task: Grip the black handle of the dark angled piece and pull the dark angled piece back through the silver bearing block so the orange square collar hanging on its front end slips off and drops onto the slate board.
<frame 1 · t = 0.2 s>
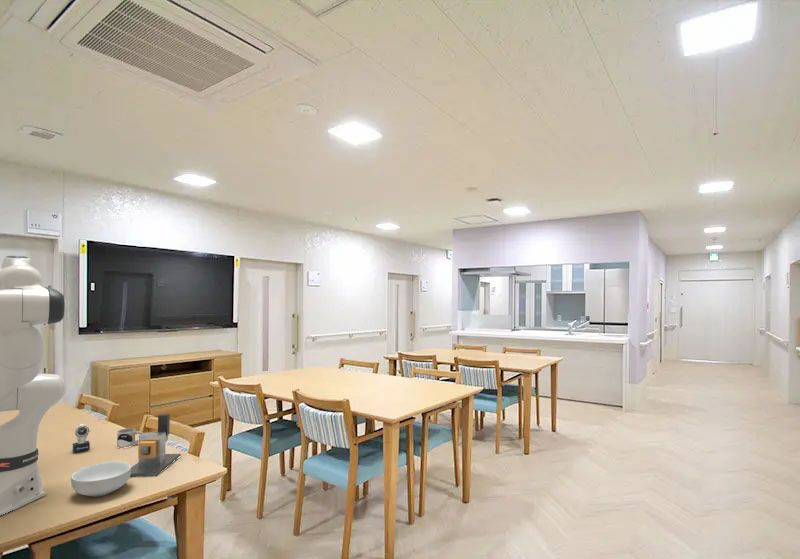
hand: (14, 329, 177), 52 cm above the table, tool tilted 20°, fingers open, 8 cm apart
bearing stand: (151, 467, 173), on the table
dark angled piece: (155, 433, 175), point 12 cm above the table, slide at 0.0 cm, touching spacer collar
spacer collar: (147, 457, 169), point 5 cm above the table, touching dark angled piece
mug: (130, 446, 198), on the table
cereal bowl: (101, 492, 151), on the table
watch: (81, 451, 191), on the table
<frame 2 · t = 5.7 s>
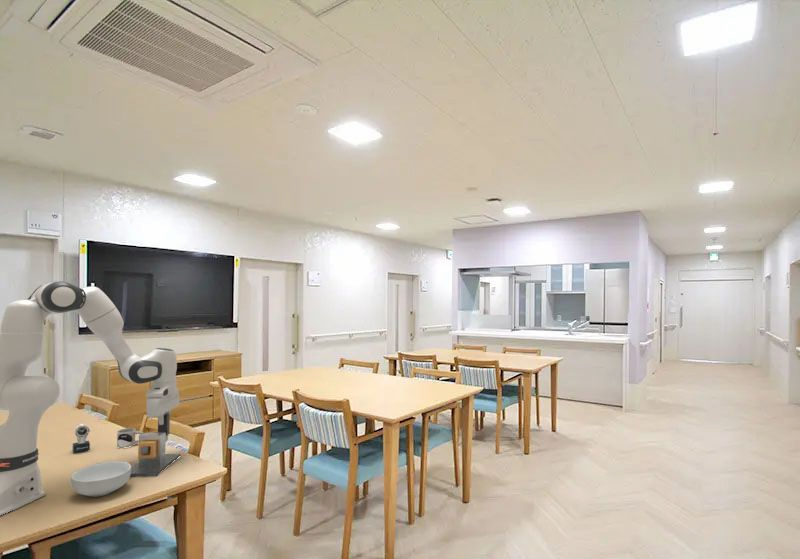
hand: (163, 423, 182), 14 cm above the table, tool pointing down, fingers closed on dark angled piece, 2 cm apart
dark angled piece: (155, 433, 175), point 12 cm above the table, slide at 0.0 cm, touching gripper, spacer collar
everything else where it was.
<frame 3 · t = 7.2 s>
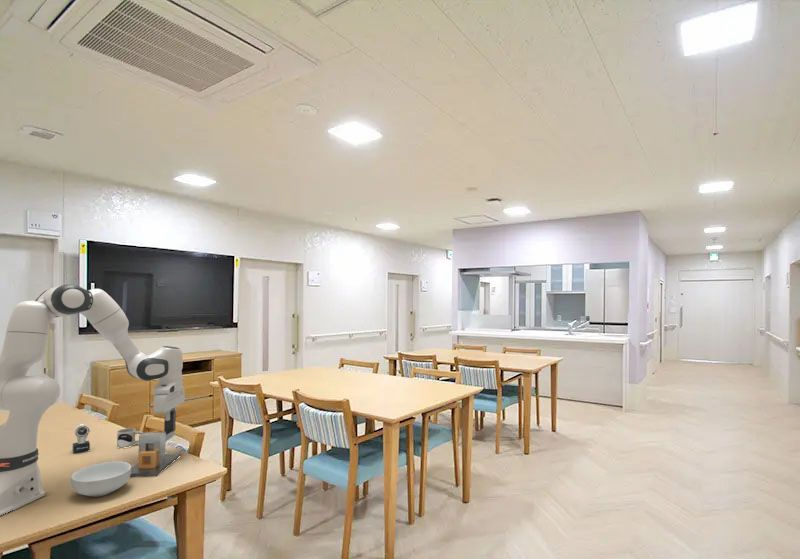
hand: (170, 419, 187), 14 cm above the table, tool pointing down, fingers closed on dark angled piece, 2 cm apart
dark angled piece: (161, 429, 180), point 12 cm above the table, slide at 5.4 cm, touching gripper
spacer collar: (147, 467, 170), point 1 cm above the table, touching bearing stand
everything else where it was.
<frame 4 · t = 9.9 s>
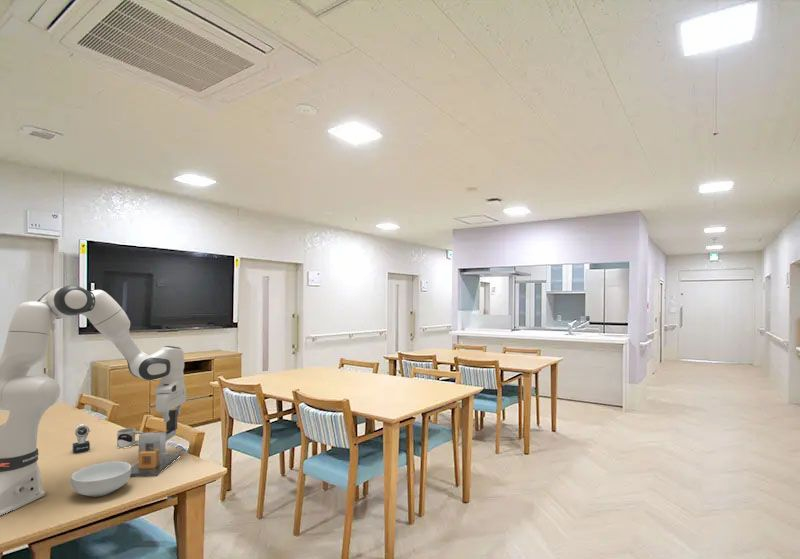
hand: (171, 418, 189), 14 cm above the table, tool pointing down, fingers open, 8 cm apart
dark angled piece: (163, 427, 182), point 12 cm above the table, slide at 7.1 cm
everything else where it was.
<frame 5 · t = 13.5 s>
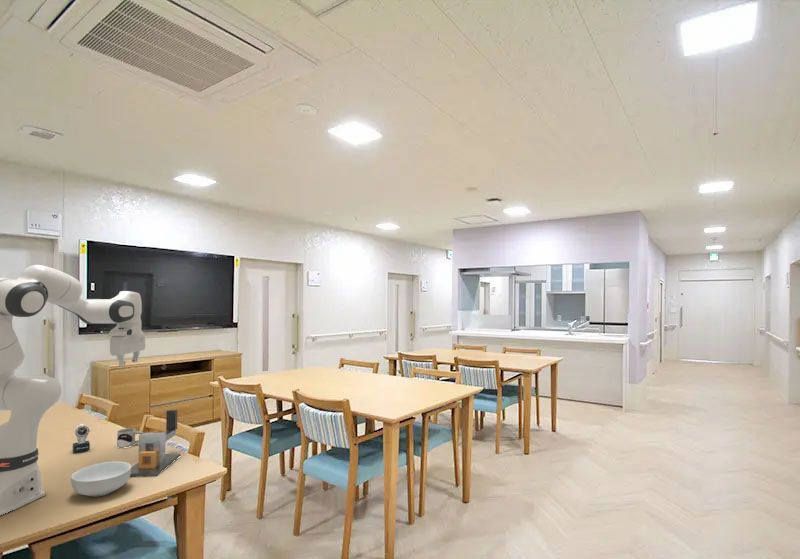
hand: (128, 363, 187), 37 cm above the table, tool pointing down, fingers open, 8 cm apart
nothing on the table moved.
at the end: spacer collar point 1.2 cm above the table; spacer collar touching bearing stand; dark angled piece slide at 7.1 cm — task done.
